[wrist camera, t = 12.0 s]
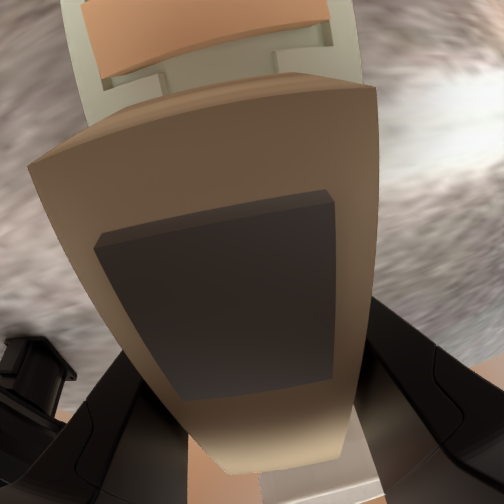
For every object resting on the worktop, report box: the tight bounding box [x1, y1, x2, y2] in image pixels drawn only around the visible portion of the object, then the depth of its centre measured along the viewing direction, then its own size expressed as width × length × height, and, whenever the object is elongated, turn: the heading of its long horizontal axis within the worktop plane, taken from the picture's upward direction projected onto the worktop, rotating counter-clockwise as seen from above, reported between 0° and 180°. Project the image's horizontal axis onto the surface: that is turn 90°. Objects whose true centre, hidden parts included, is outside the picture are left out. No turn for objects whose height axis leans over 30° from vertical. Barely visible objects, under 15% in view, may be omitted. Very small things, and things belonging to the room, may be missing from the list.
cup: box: [258, 405, 385, 504], centre depth 22 cm, size 12×12×14 cm
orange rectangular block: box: [80, 0, 331, 79], centre depth 10 cm, size 4×9×4 cm, turn 103°
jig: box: [60, 0, 363, 127], centre depth 14 cm, size 19×13×2 cm
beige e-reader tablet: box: [27, 72, 379, 475], centre depth 7 cm, size 10×4×4 cm, turn 9°
